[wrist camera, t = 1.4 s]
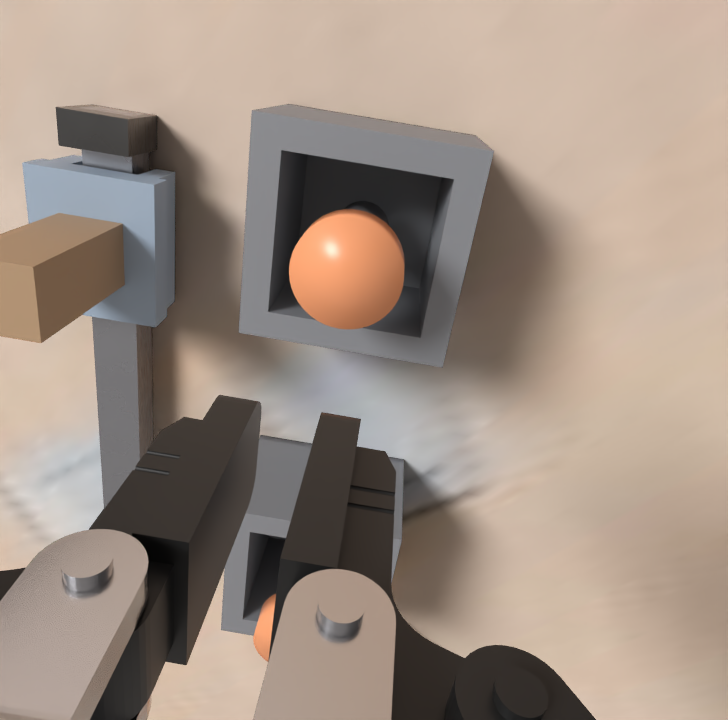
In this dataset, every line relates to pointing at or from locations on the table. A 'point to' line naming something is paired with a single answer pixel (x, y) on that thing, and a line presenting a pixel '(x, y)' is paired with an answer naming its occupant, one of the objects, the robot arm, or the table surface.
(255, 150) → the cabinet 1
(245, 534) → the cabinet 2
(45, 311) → the carriage
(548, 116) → the table surface
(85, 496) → the table surface
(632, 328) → the table surface
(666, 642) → the table surface
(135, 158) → the slide rail
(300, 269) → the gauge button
